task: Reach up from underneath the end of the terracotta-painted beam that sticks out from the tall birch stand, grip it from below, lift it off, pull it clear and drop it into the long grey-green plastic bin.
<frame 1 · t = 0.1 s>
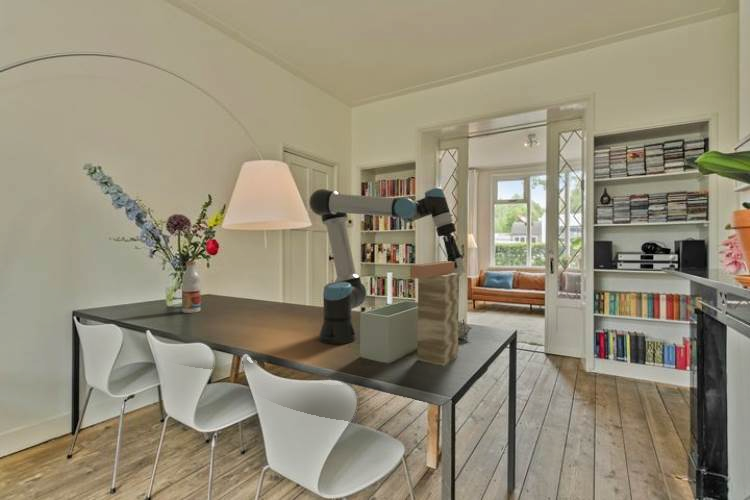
hand: (460, 274, 147), 28 cm above the table, tool tilted 20°, fingers open, 13 cm apart
stand: (437, 358, 129), on the table
bin: (397, 349, 139), on the table
beam: (434, 274, 125), point 30 cm above the table, touching stand
grey bushy clump: (460, 339, 154), on the table
fruit juice: (191, 311, 206), on the table
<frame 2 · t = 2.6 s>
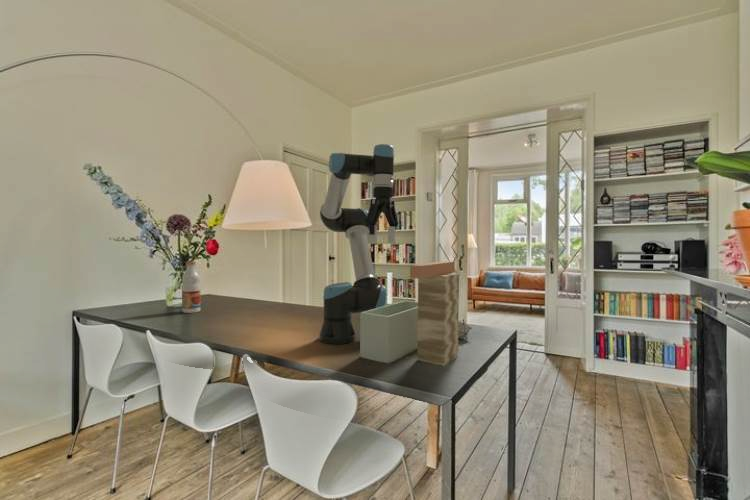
hand: (382, 243, 137), 40 cm above the table, tool pointing down, fingers open, 13 cm apart
nothing on the table moved.
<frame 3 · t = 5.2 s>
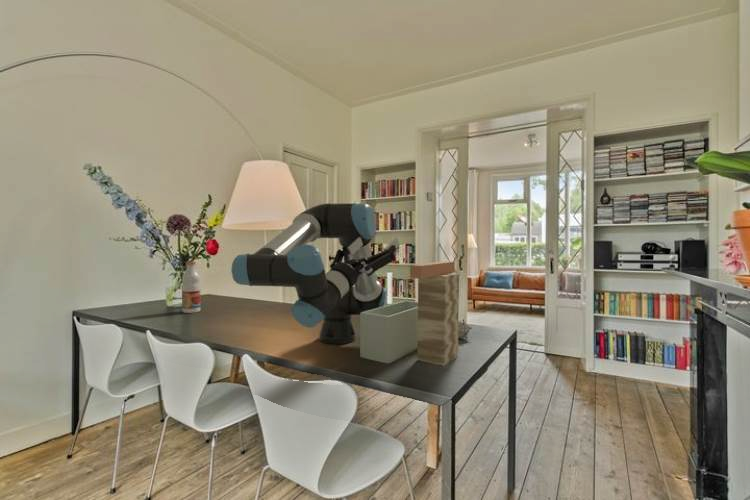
hand: (378, 241, 111), 42 cm above the table, tool pointing upward, fingers open, 13 cm apart
nothing on the table moved.
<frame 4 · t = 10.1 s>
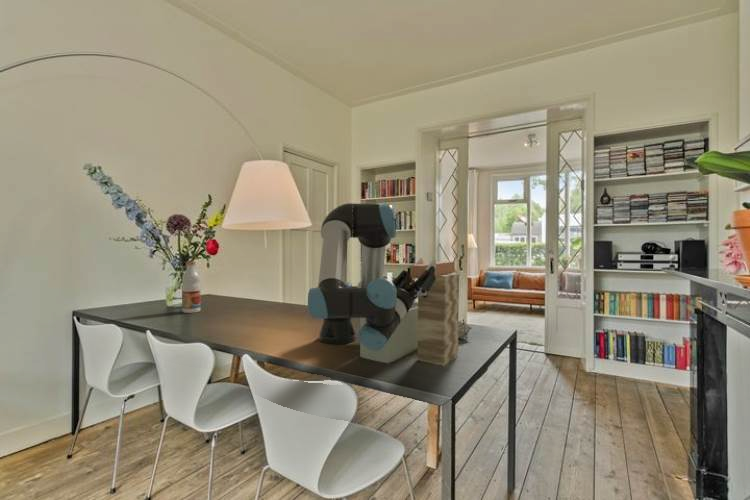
hand: (428, 262, 121), 35 cm above the table, tool pointing upward, fingers closed on beam, 4 cm apart
beam: (434, 274, 125), point 30 cm above the table, touching gripper, stand
everything else where it was.
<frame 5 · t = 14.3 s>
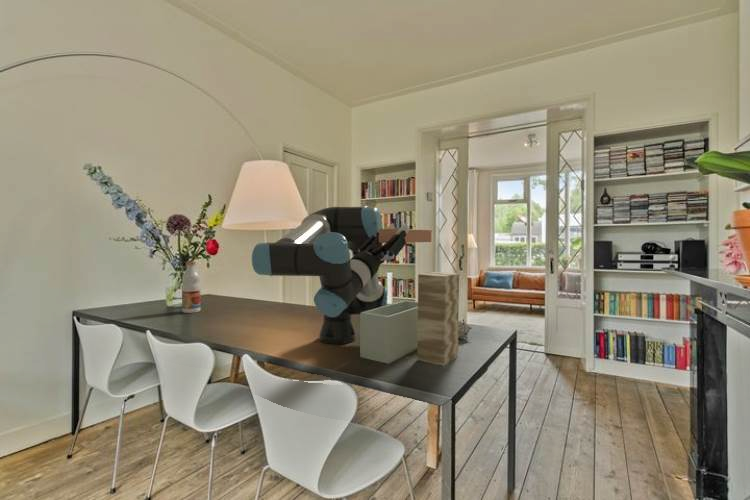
hand: (400, 227, 111), 46 cm above the table, tool pointing upward, fingers closed on beam, 4 cm apart
beam: (407, 242, 114), point 41 cm above the table, touching gripper
everything else where it was.
when the fingers open (30 cm above the table, at t = 18.7 s): beam drops 24 cm, resting on bin.
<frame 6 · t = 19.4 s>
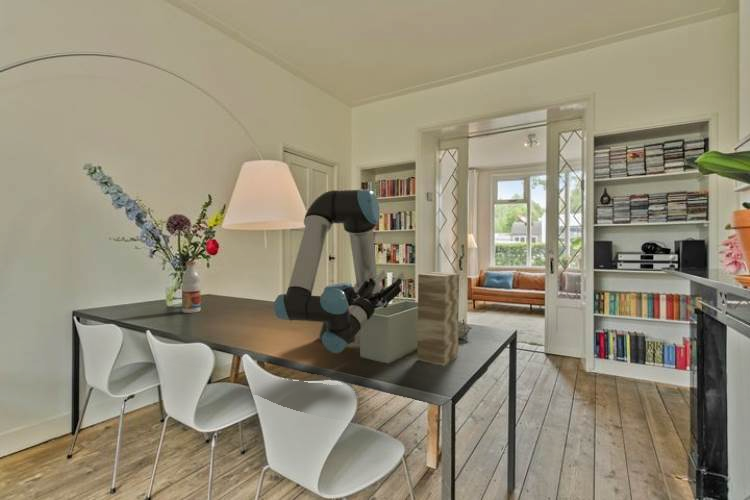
hand: (393, 273, 133), 29 cm above the table, tool pointing upward, fingers open, 8 cm apart
beam: (397, 347, 138), point 1 cm above the table, touching bin
everything else where it was.
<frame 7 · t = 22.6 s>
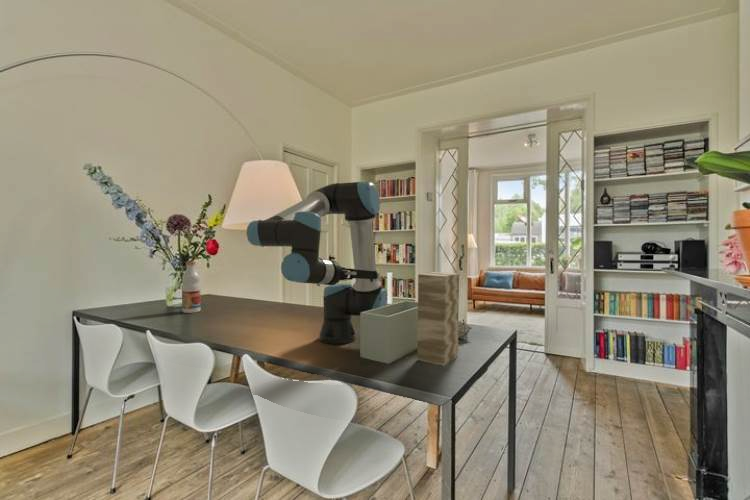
hand: (362, 277, 126), 29 cm above the table, tool horizontal, fingers open, 13 cm apart
nothing on the table moved.
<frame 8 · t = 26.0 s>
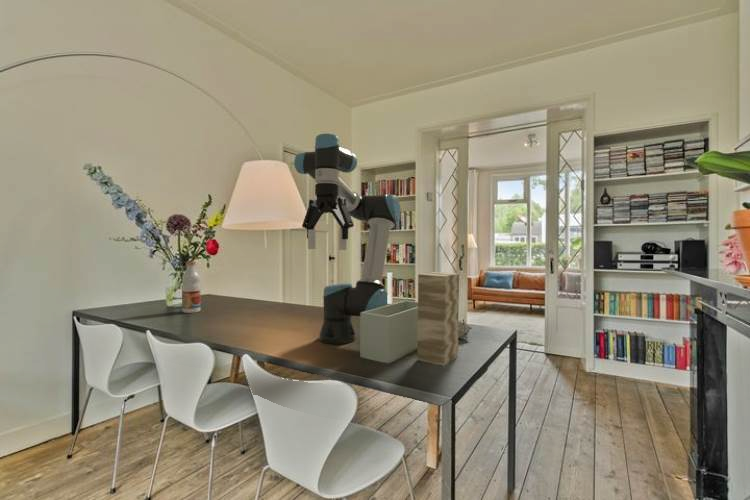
hand: (326, 249, 118), 39 cm above the table, tool pointing down, fingers open, 13 cm apart
nothing on the table moved.
at the end: beam inside the target area on the bin (0.4 cm from its centre), point 0.8 cm above the bin's base; the gripper is holding nothing; beam moved 33.9 cm from its start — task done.
